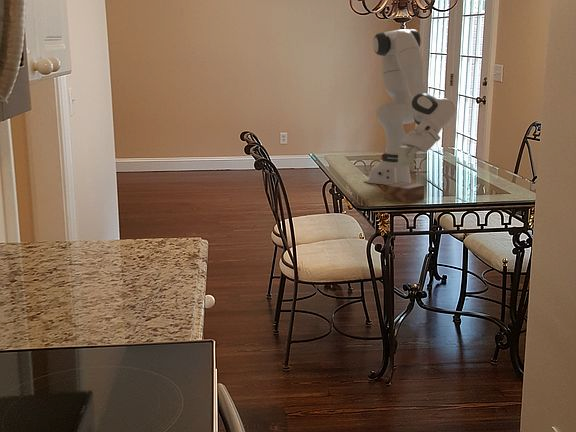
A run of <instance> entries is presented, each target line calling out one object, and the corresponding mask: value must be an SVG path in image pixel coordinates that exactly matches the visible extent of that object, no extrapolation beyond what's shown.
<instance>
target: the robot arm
mask: <svg viewBox="0 0 576 432" xmlns="http://www.w3.org/2000/svg"><path fill="white" fill-rule="evenodd" d="M421 41H422V40H421V34H420V32H419V31H418V30H417V29H413V28H411V29H410V28H409V29H395V30H390V31H382V32H377V33H376V34H375V36H374V37H373V42H372V46H373V51H374V53H375V54H376V55H378V56H380V57H381V71H382V81H383V89H384V92H386V93H387V94H388V95H389V96H390V98H391V100H392V101H387V102H384V103H381V104H379V106H378V107H377V109H376V113H375V114H376V115H375V116H376V119H377V121H378V122H379V123H380V124H381V126H382V128H383V131H384V133H385V152H384V153H383V154H381V161H379V162H378V163H377V164H375V165H374V166H373V167H371V169H370V170H369V171H370V172H369V175H368V177H365V178H364V183H366V184H367V183H368V184H376V185H377V184H378V185H384V186H385V185H388V184H393V183H398V182H407V183H412V179H411V173H410V166H408V167H401V166H398V165H396V162H398V146H412V147H414V148H413V149H412V150H411V151H410V152H408V153H407V156H408V157H411V156H412V155H414V156H415V155H416V154H417V153H418V152H423V153H427V152H428V151H430V149H431V148H432V147H433V146H435V144H436V142H439V141H440V140H441V136H440V135H439V134H440V133H441V130H442V129H443V128H444V127H446V126H447V125H448V124H449V123H450V122H451V120H452V119H453V118H454V115H455V114H456V107H455V105H454V103H453V102H452V100H450V99H448V98H446V97H445V98H444V97H442V98H439V97H435V96H433V95H431V94H429V93H426V88H425V85H424V84H425V83H424V63H423V56H422V52H421V47H420V46H421ZM414 122H415V124H417V126H416V127H415V130H413V129H412V130H410V131H408V132H407V133H406V131H405V127H404V125H406V124H407V125H408V124H412V123H414Z"/></svg>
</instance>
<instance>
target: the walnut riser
mask: <svg viewBox="0 0 576 432" xmlns="http://www.w3.org/2000/svg"><path fill="white" fill-rule="evenodd" d="M389 199H391V201H395V200H396V201H395V202H401V203H411V202H415V201H419V200H423V199H425V184H419V183H414V182H413V183H412V182H411V183H407V182H398V183H393V184H388V185H384V200H389Z"/></svg>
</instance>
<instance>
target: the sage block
mask: <svg viewBox="0 0 576 432" xmlns="http://www.w3.org/2000/svg"><path fill="white" fill-rule="evenodd" d="M413 148H414V147H412V146H398V162H396V165H398V166H401V167H408V166H409V167H416V166H417V164H416V163H415V154H414V155H412V156H411V157H408V156H407V153H408V152H410V151H411V150H412V149H413Z"/></svg>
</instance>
